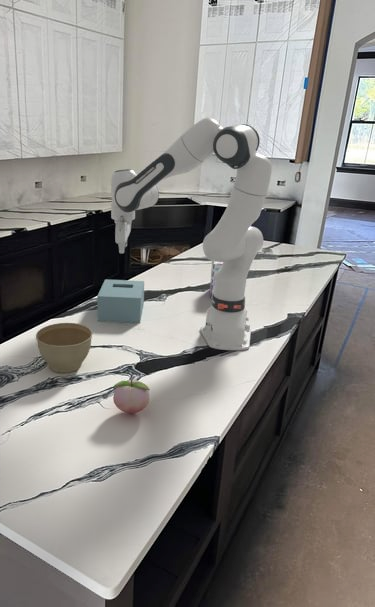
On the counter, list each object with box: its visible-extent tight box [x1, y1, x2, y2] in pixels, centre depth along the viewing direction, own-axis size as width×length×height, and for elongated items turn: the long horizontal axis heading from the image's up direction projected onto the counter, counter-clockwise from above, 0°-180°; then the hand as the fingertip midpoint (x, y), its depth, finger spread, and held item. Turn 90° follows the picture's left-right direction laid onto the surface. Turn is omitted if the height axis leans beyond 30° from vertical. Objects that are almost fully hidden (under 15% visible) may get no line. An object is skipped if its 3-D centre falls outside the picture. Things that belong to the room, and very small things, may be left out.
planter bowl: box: [35, 322, 93, 374], centre depth 136 cm, size 16×16×11 cm
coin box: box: [96, 279, 145, 324], centre depth 179 cm, size 20×16×10 cm
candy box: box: [209, 261, 223, 300], centre depth 204 cm, size 14×6×16 cm, turn 179°
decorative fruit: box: [112, 378, 151, 414], centre depth 116 cm, size 9×8×10 cm
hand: (123, 249), depth 175 cm, fingers open, 8 cm apart
